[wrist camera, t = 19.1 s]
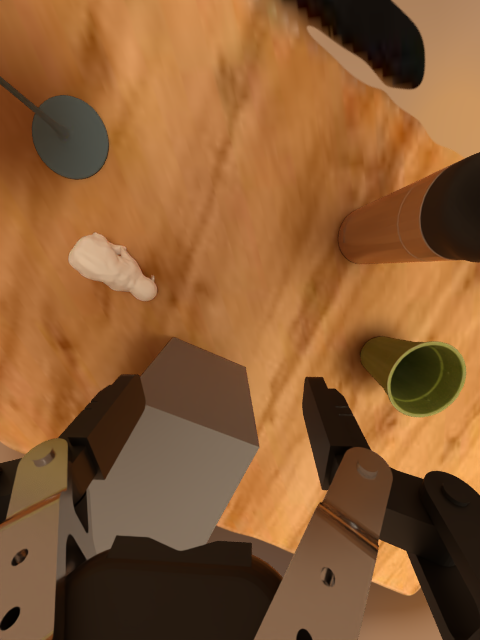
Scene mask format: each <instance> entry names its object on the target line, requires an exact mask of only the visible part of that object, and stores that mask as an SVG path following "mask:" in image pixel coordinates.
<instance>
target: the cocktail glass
mask: <svg viewBox="0 0 480 640" xmlns="http://www.w3.org/2000/svg"><path fill="white" fill-rule="evenodd" d="M0 84H1V85H2V86H3V87H4V88H6V89H7V90H8V91H9V92H10V93H12V94H13V95H14V96H15V97H17V98H18V99H19V100H20V101H21V102H23V103H24V104H25V105H26V106H27V107H29V108H30V109H31V110H32V111H33V112H35V115H34V119H33V123H32V137H33V142H34V145H35V148H36V150H37V152H38V154H39V156H40V157H41V159H42V160H43V162H44V163H45V164H46V165H47V166H48V167H49V168H50V169H52V170H53V171H54V172H56V173H57V174H59V175H61V176H64V177H67V178H70V179H84V178H88V177H90V176H92V175H94V174H95V173H97V172H98V171H99V170H100V169H101V168H102V166H103V165H104V163H105V161H106V158H107V154H108V148H109V142H108V135H107V131H106V128H105V125H104V123H103V122H102V120H101V118H100V117H99V115H98V114H97V112H96V111H95V110H94V109H93V108H92V107H91V106H89V105H88V104H87V103H85V102H84V101H82V100H80V99H78V98H75V97H72V96H66V95H60V96H55V97H52V98H49V99H48V100H46V101H45V102H44V103H42V104H41V105H40V107H39V108H38V107H36V106H35V105H34V104H33V103H32V102H30V101H29V100H28V99H27V98H25V97H24V96H23V95H22V94H21V93H19V92H18V91H17V90H16V89H15V88H13V87H12V86H11V85H10V84H9V83H8V82H6V81H5V80H4V79H3V78H2V77H0Z"/></svg>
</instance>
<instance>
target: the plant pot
mask: <svg viewBox="0 0 480 640" xmlns="http://www.w3.org/2000/svg"><path fill="white" fill-rule="evenodd" d="M360 357H361V363H362V365H363V366H364V368H365V369H366V370H367V371H368V372H369V373H370V374H371V375H372V376H373V377H374V379H375V380H376V381H377V382H378V383H379V384H380V385H381V386H382V387H383V388H384V390H385V392H386V393H387V395H388V397H389V399H390V401H391V403H392V405H393V406H394V407H395V408H396V409H397V410H398V411H399V412H401V413H403V414H405V415H408V416H411V417H427V416H431V415H434V414H437V413H439V412H441V411H442V410H444V409H446V408H447V407H448V406H449V405H451V404H452V403H453V402H454V400H455V399H456V398H457V397H458V396H459V393H460V391H461V390H462V388H463V386H464V383H465V378H466V366H465V361H464V359H463V357H462V355H461V354H460V353H459V351H458V350H457V349H456V348H454V347H453V346H451V345H449V344H446V343H443V342H435V341H434V342H411V341H406V340H400V339H394V338H389V337H382V336H381V337H376V338H373V339H371V340H369V341H368V342H367V343H366V344H365V345H364V346H363V348H362V350H361V353H360Z"/></svg>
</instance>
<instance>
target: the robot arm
mask: <svg viewBox="0 0 480 640" xmlns="http://www.w3.org/2000/svg"><path fill="white" fill-rule="evenodd" d="M338 243H339V247H340V250H341V252H342V254H343V255H344V256H345V257H346V258H347V259H348V260H349V261H351V262H354V263H357V264H379V263H403V262H428V261H449V260H466V261H470V262H480V152H479V153H476V154H474V155H472V156H469V157H467V158H465V159H463V160H461V161H459V162H457V163H455V164H452V165H450V166H448V167H446V168H444V169H442V170H440V171H437V172H435V173H433V174H431V175H429V176H427V177H425V178H423V179H421V180H419V181H416V182H414V183H412V184H410V185H408V186H406V187H404V188H402V189H399V190H397V191H395V192H393V193H391V194H389V195H387V196H385V197H382V198H380V199H378V200H376V201H374V202H372V203H369V204H367V205H365V206H363V207H361V208H359V209H357V210H355V211H353V212H352V213H351V214H349V215H348V216H347V217H346V218H345V220H344V221H343V223H342V225H341V227H340V230H339V235H338ZM145 405H146V399H145V395H144V391H143V387H142V383H141V379H140V376H139V375H128V374H123V375H120V376H119V377H118V379H117V380H116V381H115V382H114V383H113V384H112V385H109V386H107V387H106V388H104V389H103V390H101V391H100V392H99V393H98V394H97V395H96V396H95V397H94V398H93V399H92V401H91V403H89V404H88V405H87V406H86V407H85V410H83V411H82V412H81V413H80V414H79V415H78V416H77V417H76V418H75V420H74V421H73V422H72V423H71V424H70V425H69V426H68V427H67V428H66V430H65V431H64V432H63V433H62V434H61V435H60V436H59V437H58V438H56V439H51V440H48V441H45V442H43V443H41V444H39V445H37V446H36V447H34V448H33V449H31V450H30V451H29V452H28V453H27V454H26V455H25V456H24V457H23V458H21V459H16V460H12V461H8V462H4V463H0V640H358V637H359V632H360V628H361V623H362V619H363V615H364V610H365V606H366V602H367V597H368V593H369V589H370V584H371V580H372V576H373V571H374V567H375V563H376V558H377V553H378V547H379V545H378V540H379V539H380V540H382V541H384V542H387V543H389V544H392V545H394V546H396V547H399V548H401V549H403V550H406V551H407V554H408V556H409V559H410V561H411V564H412V566H413V568H414V571H415V573H416V576H417V578H418V581H419V583H420V585H421V588H422V590H423V593H424V595H425V597H426V600H427V602H428V605H429V607H430V610H431V612H432V614H433V617H434V619H435V622H436V624H437V627H438V629H439V632H440V634H441V636H442V639H443V640H480V495H479V494H478V493H477V492H476V491H475V490H474V489H473V488H472V487H470V486H469V485H468V484H467V483H465V482H464V481H462V480H461V479H459V478H457V477H455V476H453V475H451V474H449V473H445V472H441V471H431V472H429V473H427V474H426V475H425V477H424V479H422V478H419V477H415V476H412V475H409V474H406V473H403V472H400V471H397V470H395V469H393V468H391V467H389V465H388V464H387V463H386V461H385V460H384V459H383V458H382V457H381V456H379V455H378V454H377V453H375V452H373V451H371V449H370V447H369V445H368V443H367V441H366V439H365V437H364V435H363V433H362V431H361V429H360V427H359V425H358V423H357V421H356V419H355V417H354V416H353V414H352V412H351V410H350V408H349V406H348V404H347V402H346V400H345V398H344V396H343V395H342V394H340V393H339V392H338V391H337V390H336V389H328V388H327V386H326V383H325V381H324V379H323V377H306V378H305V383H304V392H303V402H302V408H303V416H304V420H305V424H306V428H307V432H308V436H309V440H310V444H311V448H312V452H313V456H314V460H315V464H316V468H317V472H318V476H319V480H320V483H321V487H322V490H328V491H327V494H326V496H325V498H324V500H323V502H322V503H321V502H320V503H319V504H318V506H317V508H316V510H315V512H314V514H313V516H312V518H311V520H310V522H309V524H308V526H307V528H306V531H305V533H304V535H303V537H302V539H301V541H300V543H299V545H298V547H297V550H296V552H295V554H294V556H293V558H292V560H291V562H290V564H289V566H288V569H287V571H286V573H285V575H284V577H282V576H281V575H280V574H279V573H278V572H277V571H276V570H275V569H274V568H273V567H271V566H270V565H269V564H268V563H266V562H265V561H263V560H262V559H260V558H258V557H256V556H254V555H252V543H245V542H243V543H242V542H227V541H216V542H212V543H208V544H205V545H201V546H198V547H194V548H190V549H187V550H183V551H179V550H176V549H174V548H171V547H169V546H167V545H165V544H163V543H160V542H158V541H156V540H154V539H152V538H149V537H137V536H119V535H116V537H115V540H114V542H113V544H112V547H111V549H108V550H105V551H103V552H101V553H99V554H97V553H96V549H95V546H94V541H93V531H92V517H91V502H90V491H89V488H88V487H89V485H90V483H91V482H92V480H105V479H106V477H107V475H108V473H109V472H110V470H111V468H112V466H113V465H114V463H115V461H116V459H117V458H118V456H119V454H120V452H121V451H122V449H123V447H124V445H125V444H126V442H127V440H128V438H129V437H130V435H131V433H132V431H133V430H134V428H135V426H136V424H137V423H138V421H139V419H140V417H141V416H142V414H143V412H144V409H145Z"/></svg>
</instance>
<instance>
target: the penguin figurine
mask: <svg viewBox="0 0 480 640" xmlns="http://www.w3.org/2000/svg"><path fill="white" fill-rule="evenodd" d="M126 250H127V248H126V247H125V246H122V245H114V244H112V243H111V242H108V241H107V239H106V238H105V237H104V236H103V235H100V234H98V233H96V232H94V233H93V234H92V235H88V236H84V237H82V238H81V239H79V240H78V241H77V243H76V244H75V246H74V247H73V249H72V250H71V251H70V253H69V257H68V261H69V263H70V265H71V266H72V267H73V268H74V269H76V270H77V271H78V272H79V273H80V274H81V275H82V276H84V277H86V278H88V279H91V280H95V281H101V282H104V283H105V284H106V285H108V286H109V287H110V288H111V289H113V290H115V291H125V292H131V293H132V295H133V296H134V297H136V298H137V299H139V300H141V301H150V300H152V299H153V298H154V297H155V296H156V294H157V286H156V284H155V283H154V277H153V278H152V280H151V279H149V278H147V277H145V276H144V275H143V274H142V271H141V269H140V267H139V265H138V264H137V262H136V260H135V259H134V258H132V257H131V256H130V255H129V253H128V252H127V251H126ZM120 254H121V256H119V255H120Z"/></svg>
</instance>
